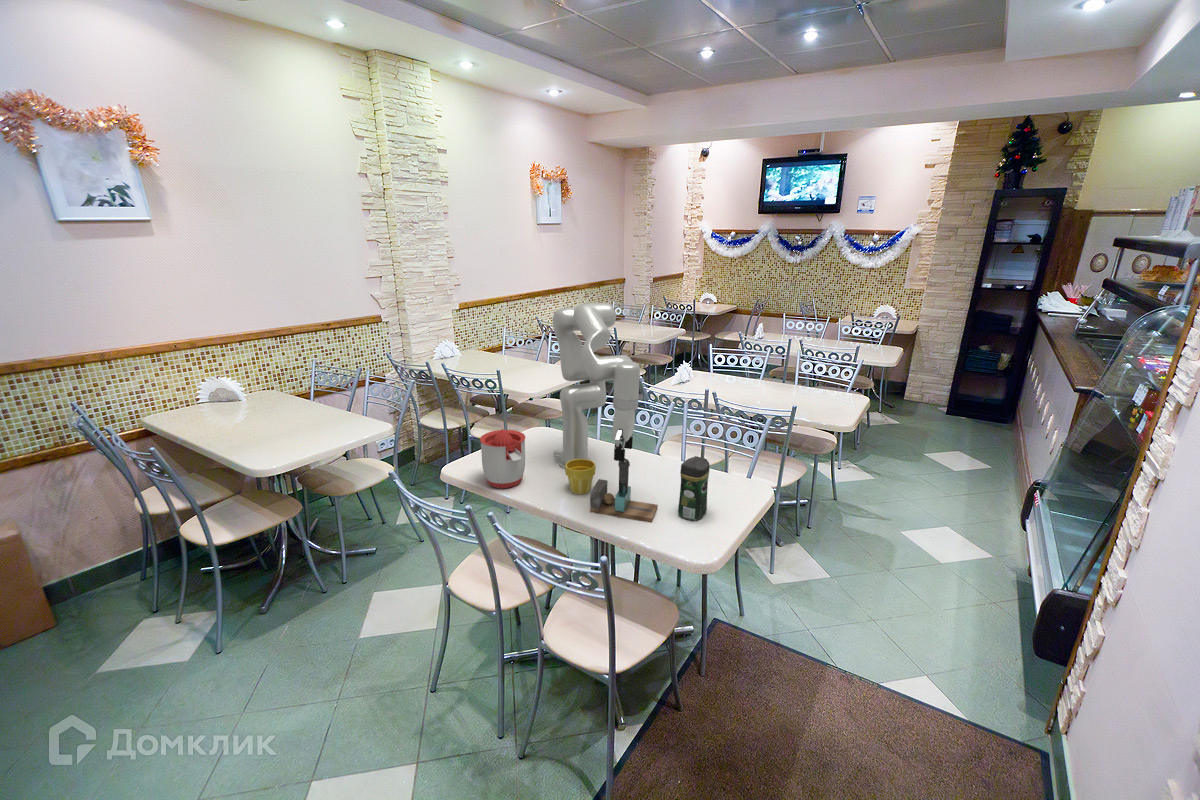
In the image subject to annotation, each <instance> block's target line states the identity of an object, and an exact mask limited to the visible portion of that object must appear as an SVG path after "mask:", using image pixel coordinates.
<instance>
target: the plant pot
mask: <svg viewBox="0 0 1200 800" xmlns="http://www.w3.org/2000/svg"><path fill="white" fill-rule="evenodd" d="M564 472H565V475H566V476H567V479H568V483H569V487H570V491H571V493H574V494H576V495H586V494H588V493H590V491H591V489H592V488H591V487H592V482H593V478H594V476H595V475H596V463H595V461H593V460H592V459H591V460H588V459H574V460H570V461H568V462H567V463H566V464H565V469H564Z"/></svg>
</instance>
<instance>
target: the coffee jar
mask: <svg viewBox="0 0 1200 800" xmlns="http://www.w3.org/2000/svg"><path fill="white" fill-rule="evenodd" d="M679 473H680V487H679V489H680V490H679V498H678V499H679V500H678V508H677V514H678V515H679V516H680V517H681V518H683V519H685V520H689V521H698V520H700V519H701V518H702V517H703V516H705V514H706V513H707V509H708V485H709V476H710V462H709V460H708V459H707V458H705V457H700V456H698V455H697V456H696V455H695V456H692V457H690V458H688V459H685V461H683V462H682V463H681V465H680V472H679Z"/></svg>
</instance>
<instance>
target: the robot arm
mask: <svg viewBox="0 0 1200 800" xmlns="http://www.w3.org/2000/svg"><path fill="white" fill-rule="evenodd" d="M616 321H617V313H616V310H615V308H614V306H612V304H610V303H608V302H587V303H581V304H579V305H577V306H569V307H568V306H567V307H562V308H559V309H556V310H555V311H554V312H553V316H552V328H553V332H554V335H555V338H556V340H557V344H558V347H559V349H558V351H559V359H560V360H559V361H560V369H561V375H562V378H563V379H564V380H565V381H567V382H578V381H579V382H580V381H587V380H589V381H590V382H588V383H579V384H570V385H567V386H564V387H563V388H562V389H561V390H560V393H559V400H560V406H561V413H562V450H553V457H554V458H555V459H556V458H559V461H558V464H559V466H560V467H561V468H562V469H564V470H565V464H566V463H567V462H568V461H570V460H574V459H588V460H591V461H592V459H591V458H590V457H588V456H589V455H588V454H589V453H588V452H589V450H588V449H589V448H588V447H589V442H588V441H589V435H588V434H589V431H588V430H589V421H588V418H587V417H586V415H585V414H584V413H583V410H589V409H596V408H597V409H598V408H601V407H604V405H605V404H606V402H607V388H606V381H608V382H609V381H610V382H611V381H613V399H612V402H613V403H612V407H613V409H614V412H613V420H612V431H611V439H612V441H614V449H613V460H614V461H617V462H619V461H622V462H624V460H625V459H626V457H625V456H626V455H625V454H626V449H627V450H632V449H633V440H634V439H633V438H634V437H633V435H634V431H635V419H636V411H637V409H638V408H639V393H640V377H641V376H640V375H641V367H640V365H639V363H637V362H635V361H633V360H632V359H631V357H629V356H628V355H626V354H620V355H618V354H617V355H605V356H604V355H603V356H600V355H598V354H595V352H598V350H601V348H603V347H605V346H606V345H607V344H608V343H609V341H611V340H610V339H611V331H610V329H609V328H611V327H613V326H614V325H615V323H616ZM578 331H580V334H581V336H582V338H583V339H584V341H585V342H584V343H583V342H582V340H581V339H580V337H579V336H578V334H576V333H575V332H578Z"/></svg>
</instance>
